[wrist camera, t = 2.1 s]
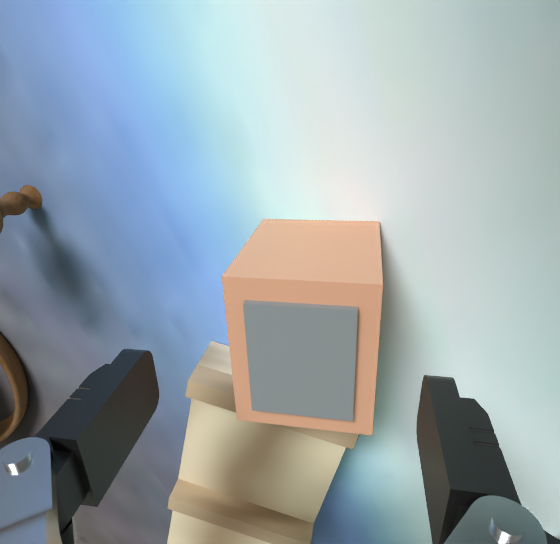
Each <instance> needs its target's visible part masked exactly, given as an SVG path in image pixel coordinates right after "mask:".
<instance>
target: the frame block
mask: <svg viewBox="0 0 560 544" xmlns="http://www.w3.org/2000/svg"><path fill="white" fill-rule="evenodd" d="M222 283H223V292H224V302H225V311H226V321H227V330H228V340H229V349H230V358H231V368H232V377H233V387H234V396H235V406H236V415H237V420H241V421H250V422H259V423H268V424H276V425H285V426H294V427H302V428H311V429H320V430H329V431H337V432H346V433H355V434H363V435H372V434H373V420H374V406H375V391H376V377H377V363H378V349H379V335H380V321H381V307H382V293H383V274H382V257H381V240H380V223H379V222H375V221H331V220H286V219H263V220H262V222H261V223H260V225H259V226H258V227H257V229H256V230H255V231H254V233H253V234H252V236H251V237H250V238H249V240H248V241H247V242H246V244H245V245H244V247H243V248H242V249H241V251H240V252H239V253H238V255H237V256H236V258H235V259H234V260H233V262H232V263H231V265H230V266H229V267H228V269H227V270H226V271H225V273H224V274H223V276H222Z"/></svg>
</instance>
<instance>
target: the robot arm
mask: <svg viewBox="0 0 560 544" xmlns="http://www.w3.org/2000/svg"><path fill="white" fill-rule="evenodd" d="M158 400H159V388H158V383H157V377H156V372H155V367H154V361H153V356H152V354H151V352H150V351H146V350H134V349H124V350H122V351H121V352H120V353H119V355H118V356H117V357H116V358H115V359H114V361H113V362H112V363H111V364H105V365H103V366H102V367H100V368H99V369H97V370H96V371H94V372H92V373H91V374H90V375H89V376H88V377H87V378H86V379H85V380H84V381H83V383H82V384H81V385H80V386H79V389H76V390H75V392H74V393H73V394H72V395H71V396H70V399H67V401H66V402H65V403H64V404H63V405H62V406H61V407H60V408H59V410H58V411H57V412H56V413H55V414H54V415H53V416H52V417H51V419H50V420H49V421H48V422H47V423H46V424H45V425H44V427H43V428H42V429H41V430H40V431H39V432H38V433H37V434H36V436H35V437H29V438H24V439H20V440H17V441H15V442H12V443H10V444H8V445H7V446H5V447H3V448H2V449H1V450H0V544H78V539H77V528H76V520H75V516H74V514H75V512H76V511H77V509H78V508H79V506H80V505H81V504H82V505H88V506H95V507H97V506H98V505H99V503H100V501H101V500H102V498H103V496H104V495H105V493H106V492H107V490H108V488H109V487H110V485H111V483H112V482H113V480H114V478H115V477H116V475H117V473H118V472H119V470H120V468H121V467H122V465H123V463H124V462H125V460H126V458H127V457H128V455H129V453H130V452H131V450H132V448H133V447H134V445H135V443H136V442H137V440H138V438H139V437H140V435H141V433H142V432H143V430H144V428H145V427H146V425H147V423H148V422H149V420H150V418H151V417H152V415H153V413H154V412H155V410H156V407H157V404H158ZM417 442H418V449H419V455H420V462H421V469H422V475H423V482H424V489H425V495H426V502H427V509H428V515H429V522H430V529H431V535H432V542H433V544H560V540H559V539H557V538H555V537H554V536H552V535H550V534H549V533H547V532H546V531H544V530H543V528H542V526H541V524H540V523H539V521H538V520H537V519H536V518H535V517H534V515H533V514H532V513H530V512H529V511H528V510H527V509H526V508H524V507H523V506H522V505H521V503H520V500H519V498H518V495H517V492H516V490H515V487H514V484H513V481H512V479H511V476H510V473H509V470H508V468H507V465H506V462H505V460H504V457H503V454H502V451H501V449H500V448H499V443H498V440H497V438H496V435H495V434H494V429H493V427H492V424H491V421H490V419H489V416H488V414H487V412H486V411H485V410H484V409H483V408H482V407H481V406H480V405H479V404H478V403H477V401H476V400H475V399H470V398H460V397H459V393H458V390H457V387H456V383H455V380H454V378H451V377H440V376H428V375H425V376H424V377H423V382H422V389H421V395H420V402H419V409H418V416H417Z"/></svg>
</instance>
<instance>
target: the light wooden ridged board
mask: <svg viewBox="0 0 560 544" xmlns="http://www.w3.org/2000/svg"><path fill="white" fill-rule="evenodd" d="M186 397H188V398H192V401H191V406H190V412H189V418H188V424H187V430H186V436H185V442H184V448H183V454H182V460H181V466H180V472H179V477H178V480H177V483H176V485H175V487H174V489H173V491H172V493H171V495H170V497H169V504H168V509H170V510H173V513H172V519H171V525H170V531H169V537H168V543H167V544H311V541H312V533H313V525H314V522H315V519H316V517H317V515H318V512H319V510H320V508H321V505H322V503H323V501H324V498H325V496H326V494H327V491H328V489H329V486H330V484H331V482H332V479H333V477H334V475H335V472H336V470H337V468H338V465H339V463H340V461H341V458H342V456H343V453H344V451H345V449H346V448H349V449H352V450H353V448H354V445H355V443H356V441H357V439H358V436H359V434H355V433H346V432H337V431H329V430H320V429H311V428H302V427H294V426H285V425H276V424H268V423H259V422H250V421H241V420H237V415H236V406H235V396H234V387H233V377H232V368H231V358H230V349H229V346H227V345H224V344H220V343H217V342H214V341H211V342H210V344H209V346H208V348H207V349H206V351H205V353H204V354H203V356H202V358H201V359H200V361H199V363H198V365H197V366H196V368H195V370H194V371H193V373H192V375H191V376H190V378H189V380H188V384H187V391H186Z"/></svg>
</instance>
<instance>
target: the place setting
mask: <svg viewBox="0 0 560 544" xmlns="http://www.w3.org/2000/svg"><path fill="white" fill-rule="evenodd" d="M41 205H42V197H41V195H40V193H39V191H38V190H37V189H36V188H34V187H32V186H30V185H25V186H23V187H22V188H21V190H20V193H19V192H8V193H6V194H4V195H3V196H2V197H1V199H0V233H1V231H2V228H3V218H4V217H5V216H7V215H20V214H22V213H24V212H25V211H26V209H27V208H28V207H29V208H31V209H38V208H39V207H40V206H41ZM0 364H1V366H2V368H3V369H4V371H5V373H6V375H7V377H8V380H9V382H10V385H11V387H12V391H13V395H14V402H15V411H14V412H13V413H12V414H11V415H10V416H9V417H8V418H6V419H4V420H2V421H0V442H2V441H3V440H5V439H6V438H7V437H9V436H10V435H11V434H12V432H13V431H14V430H15V429H16V428H17V427H18V425H19V424H20V422H21V420H22V418H23V416H24V414H25V411H26V407H27V402H28V387H27V381H26V377H25V373H24V371H23V368H22V365H21V363H20V361H19V359H18V357H17V355H16V354H15V352H14V350H13V349H12V347H11V346H10V344H9V343H8V342H7V340H6V339H5V338H4V336H3V335H2V334H1V333H0Z"/></svg>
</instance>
